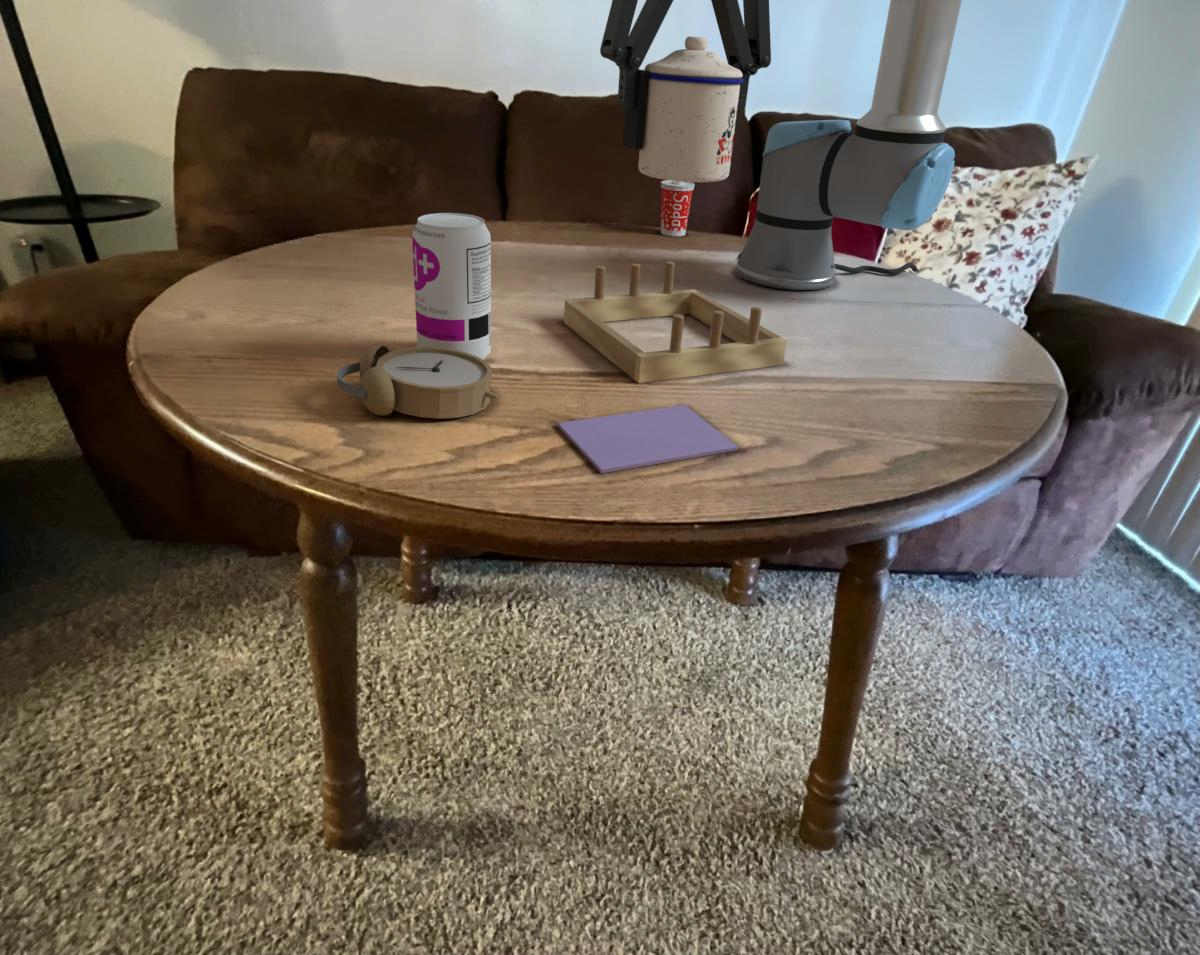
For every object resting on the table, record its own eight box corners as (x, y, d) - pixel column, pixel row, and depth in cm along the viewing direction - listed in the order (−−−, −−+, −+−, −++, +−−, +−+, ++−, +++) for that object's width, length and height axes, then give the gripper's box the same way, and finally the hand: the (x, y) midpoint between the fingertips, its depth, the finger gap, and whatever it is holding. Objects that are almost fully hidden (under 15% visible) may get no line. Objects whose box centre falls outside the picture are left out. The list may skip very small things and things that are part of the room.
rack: (692, 310, 116) (698, 259, 112) (783, 365, 99) (793, 306, 96) (563, 322, 108) (565, 268, 105) (637, 383, 91) (643, 321, 88)
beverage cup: (654, 235, 155) (661, 154, 148) (658, 228, 160) (665, 150, 153) (688, 238, 154) (696, 157, 147) (690, 231, 159) (698, 152, 153)
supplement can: (431, 372, 91) (425, 230, 84) (409, 347, 97) (402, 213, 90) (501, 363, 94) (502, 226, 87) (476, 339, 101) (474, 210, 93)
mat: (684, 408, 86) (684, 404, 86) (737, 450, 78) (738, 446, 78) (557, 426, 81) (557, 422, 81) (601, 473, 73) (601, 469, 73)
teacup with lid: (737, 186, 76) (756, 41, 71) (637, 180, 76) (647, 34, 71) (721, 166, 87) (736, 38, 81) (633, 160, 87) (642, 32, 81)
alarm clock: (503, 390, 80) (338, 370, 75) (494, 437, 82) (333, 420, 77) (487, 349, 90) (340, 329, 85) (479, 392, 92) (335, 375, 87)
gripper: (790, -121, 77) (753, 143, 87) (568, -157, 68) (557, 140, 79) (842, -131, 71) (796, 154, 81) (606, -171, 62) (589, 152, 73)
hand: (678, 147), depth 80 cm, fingers closed on teacup with lid, 9 cm apart
